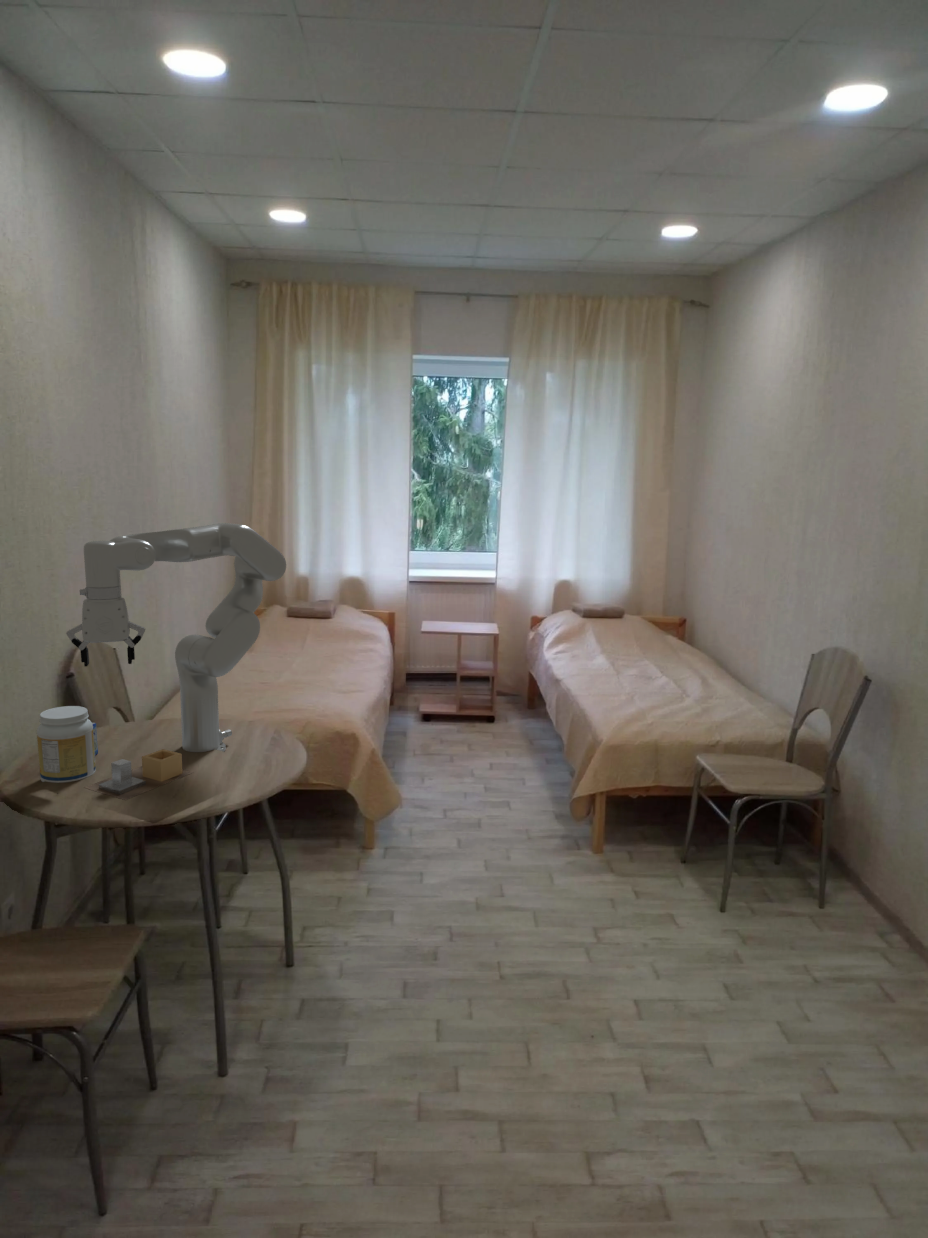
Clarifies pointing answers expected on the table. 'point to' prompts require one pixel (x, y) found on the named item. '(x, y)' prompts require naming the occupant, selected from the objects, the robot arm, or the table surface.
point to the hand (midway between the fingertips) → (108, 664)
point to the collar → (162, 765)
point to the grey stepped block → (121, 778)
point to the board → (149, 786)
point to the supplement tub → (65, 744)
